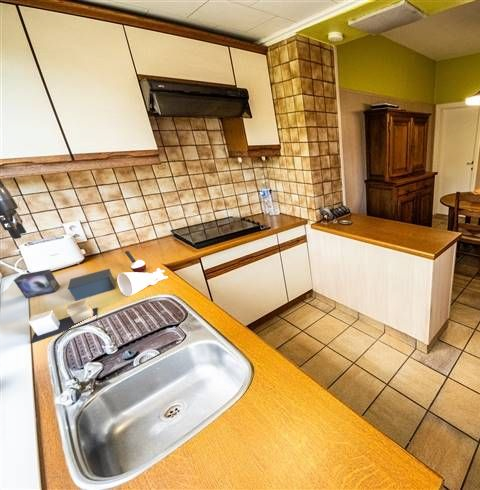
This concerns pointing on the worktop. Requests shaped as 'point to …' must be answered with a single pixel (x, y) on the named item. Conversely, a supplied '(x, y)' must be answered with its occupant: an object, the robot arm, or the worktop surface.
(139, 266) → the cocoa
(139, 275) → the rocket engine
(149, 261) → the worktop surface
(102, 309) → the worktop surface
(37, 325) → the white box
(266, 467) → the worktop surface
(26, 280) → the small box
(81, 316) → the cream box
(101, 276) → the storage box
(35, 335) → the rubber mat
